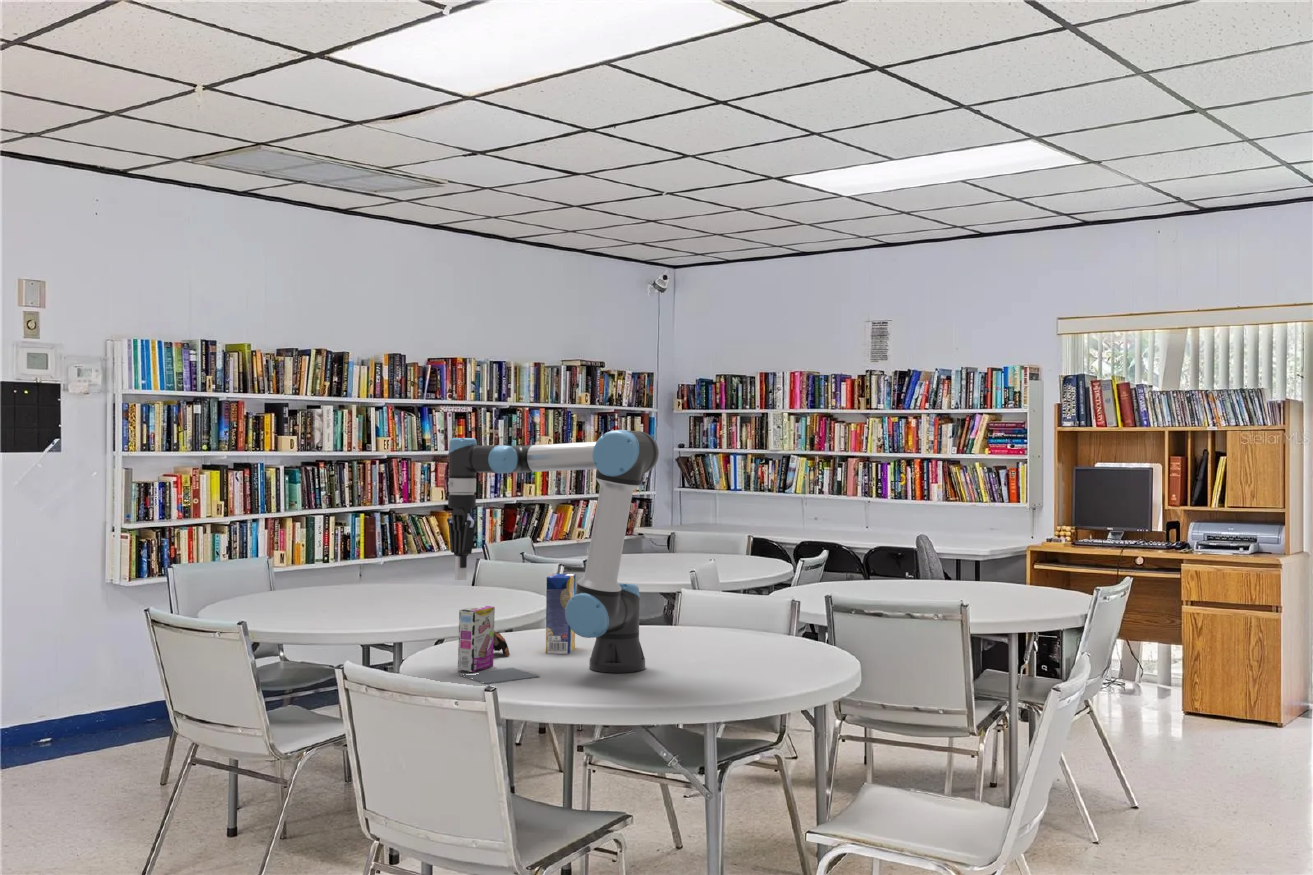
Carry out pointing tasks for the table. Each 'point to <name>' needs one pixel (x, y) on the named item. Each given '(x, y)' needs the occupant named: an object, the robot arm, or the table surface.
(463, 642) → the candy bar box
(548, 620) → the beverage box
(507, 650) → the brown curved piece
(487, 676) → the mat
